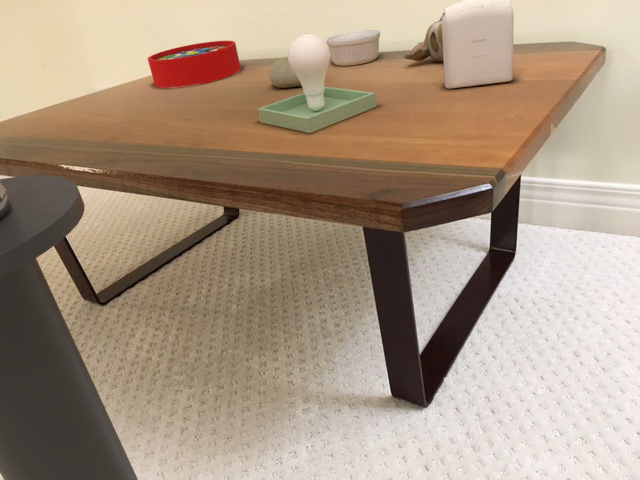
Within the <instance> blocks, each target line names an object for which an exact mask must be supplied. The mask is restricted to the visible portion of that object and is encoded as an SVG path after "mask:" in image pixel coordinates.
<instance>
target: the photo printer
mask: <svg viewBox="0 0 640 480" xmlns="http://www.w3.org/2000/svg"><path fill="white" fill-rule="evenodd" d="M443 13H444V16H443V21H442V38H443V60H444V61H443V77H444V78H443V79H444V87H445V88H446V89H449V90H452V89H458V88H466V87H475V86H481V85H489V84H490V85H491V84H499V83H508V82H511V81H512V80H513V79H514V18H515V17H514V10H513V7H512V0H461V1H458V2H455V3H454V4H451V5H450V6H448V7H446V8H444V9H443Z"/></svg>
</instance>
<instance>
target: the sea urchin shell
mask: <svg viewBox="0 0 640 480" xmlns="http://www.w3.org/2000/svg"><path fill="white" fill-rule="evenodd" d="M269 80H270V82H271V84H272V85H273V86H275V87H276V88H280V89H284V88H287V89H288V88H295V87H302V85H301V82H300V80H299V79H298V77H297V76H296V74H295V73H294V72H293V70H292V69H291V67H290V65H289V62H288V56H284V57H282V58H279V59H278V60H276V61H275V62H274V63H272V66H271V67H270V69H269Z"/></svg>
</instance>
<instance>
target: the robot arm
mask: <svg viewBox="0 0 640 480" xmlns="http://www.w3.org/2000/svg"><path fill="white" fill-rule="evenodd" d="M5 191H6V189H5V188H4V186H3V185H2V184H1V183H0V221H1V220H3V219H4V218H5V217H6V216H7V215H8V214H9V212H10V211H11V203H10V201H9V199H8V197H7V195H6V193H5Z"/></svg>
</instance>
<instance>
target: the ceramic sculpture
mask: <svg viewBox="0 0 640 480" xmlns="http://www.w3.org/2000/svg"><path fill="white" fill-rule="evenodd" d="M443 16H444V12H443V13H442V15H441V16H440V18H439V20H438V21H435V22H433V23H432V24H430V25H429V27H428V28H427V30H426V33H425V37H424V40H423V41H421V42H418V43H417V44H416V45H415V46H414V47H413V48H412V49H411V51H410V52H409V54H406V55H404V56H403V57H404V59H406V60H411V61H414V62H415V61H416V62H420V61H421V62H422V61H425V60H426V59H428V58H429V57H430V58H431V59H433V60H435V61H437V62H444V60H443V38H442V21H443Z"/></svg>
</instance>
